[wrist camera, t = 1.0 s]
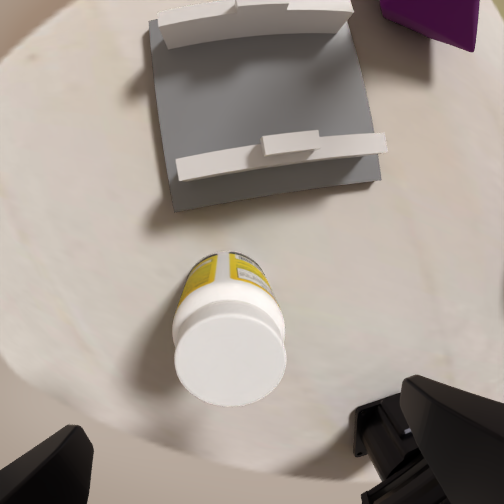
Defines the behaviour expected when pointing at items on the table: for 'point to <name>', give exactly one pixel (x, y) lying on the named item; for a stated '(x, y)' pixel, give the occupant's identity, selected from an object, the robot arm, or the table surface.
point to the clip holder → (260, 100)
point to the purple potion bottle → (437, 19)
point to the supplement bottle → (228, 332)
